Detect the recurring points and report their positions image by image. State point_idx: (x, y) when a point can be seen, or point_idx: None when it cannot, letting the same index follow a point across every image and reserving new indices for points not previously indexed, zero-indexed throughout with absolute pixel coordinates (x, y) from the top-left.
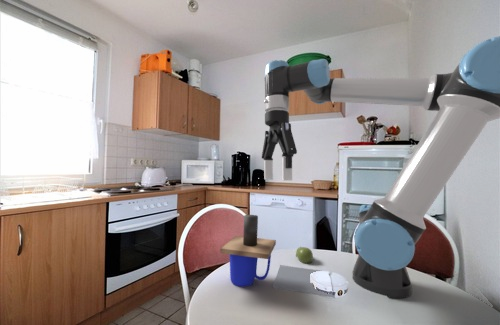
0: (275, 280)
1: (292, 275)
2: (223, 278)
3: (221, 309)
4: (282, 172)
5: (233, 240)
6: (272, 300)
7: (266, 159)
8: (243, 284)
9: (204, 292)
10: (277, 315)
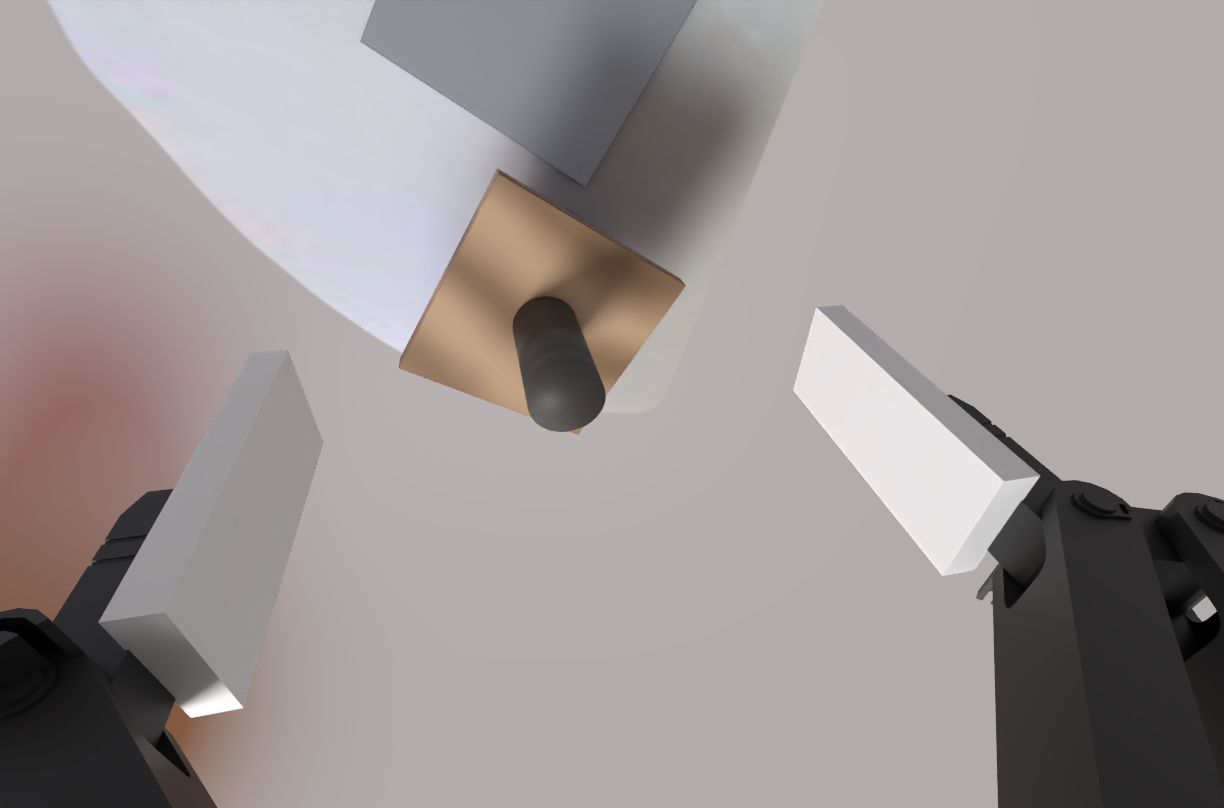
0: (535, 152)
1: (500, 38)
2: None
3: (642, 354)
4: (837, 437)
5: (481, 385)
6: (646, 212)
7: (165, 713)
8: None
9: None
10: (714, 225)
